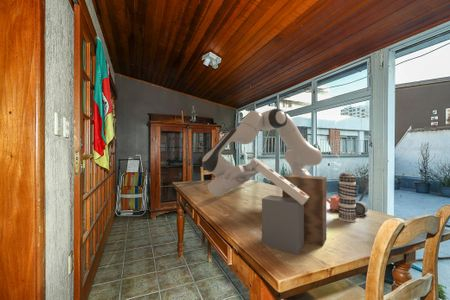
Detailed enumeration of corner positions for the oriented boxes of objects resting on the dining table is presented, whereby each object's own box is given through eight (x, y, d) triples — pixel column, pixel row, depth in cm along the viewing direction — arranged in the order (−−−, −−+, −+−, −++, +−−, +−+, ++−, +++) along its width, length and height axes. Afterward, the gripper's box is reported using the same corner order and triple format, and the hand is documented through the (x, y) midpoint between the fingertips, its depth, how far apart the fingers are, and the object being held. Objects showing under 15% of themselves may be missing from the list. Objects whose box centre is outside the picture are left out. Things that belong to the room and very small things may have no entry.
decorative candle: (336, 220, 110) (336, 173, 110) (338, 215, 118) (338, 171, 118) (356, 223, 105) (356, 174, 105) (357, 218, 113) (357, 172, 113)
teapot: (323, 208, 133) (323, 193, 133) (341, 207, 134) (341, 193, 134) (333, 213, 122) (333, 197, 122) (353, 213, 122) (353, 196, 122)
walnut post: (282, 236, 89) (282, 176, 89) (288, 230, 95) (288, 174, 95) (322, 246, 79) (322, 179, 80) (326, 239, 86) (326, 177, 86)
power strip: (249, 164, 87) (252, 157, 86) (253, 163, 90) (257, 157, 89) (302, 205, 74) (307, 197, 73) (305, 202, 78) (310, 195, 76)
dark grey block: (261, 244, 81) (261, 198, 81) (270, 237, 88) (270, 195, 88) (297, 254, 73) (297, 203, 73) (303, 246, 80) (303, 199, 80)
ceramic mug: (368, 214, 120) (368, 201, 120) (365, 217, 114) (365, 203, 114) (348, 210, 128) (348, 198, 128) (344, 213, 122) (344, 200, 122)
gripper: (219, 172, 86) (244, 156, 79) (244, 168, 102) (266, 155, 95) (225, 185, 84) (251, 170, 77) (249, 180, 101) (272, 167, 94)
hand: (259, 162), depth 86 cm, fingers closed on power strip, 4 cm apart
